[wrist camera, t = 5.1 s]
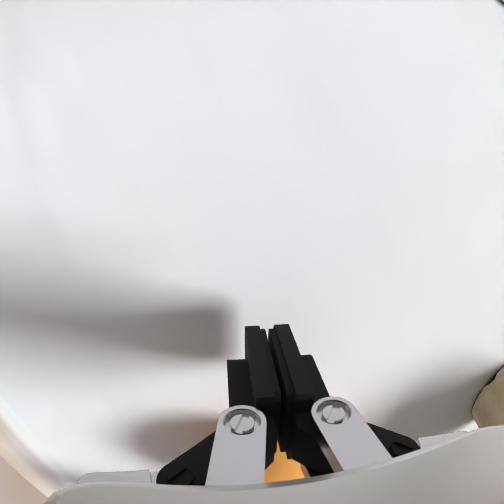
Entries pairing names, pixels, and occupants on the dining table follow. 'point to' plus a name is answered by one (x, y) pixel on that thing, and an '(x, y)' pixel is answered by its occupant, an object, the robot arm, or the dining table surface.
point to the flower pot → (490, 403)
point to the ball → (282, 468)
